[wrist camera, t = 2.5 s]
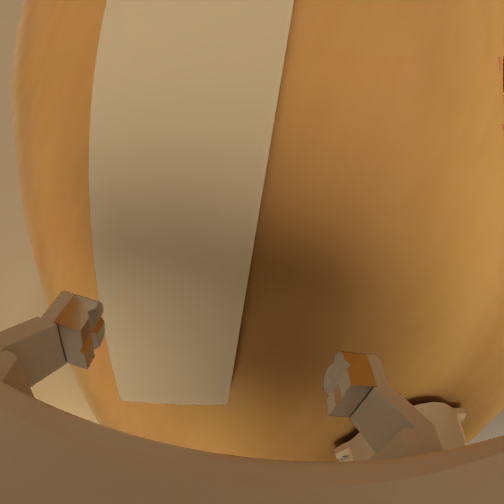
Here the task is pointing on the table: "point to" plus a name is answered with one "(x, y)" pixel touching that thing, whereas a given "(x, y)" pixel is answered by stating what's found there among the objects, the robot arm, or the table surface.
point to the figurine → (503, 77)
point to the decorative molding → (180, 184)
